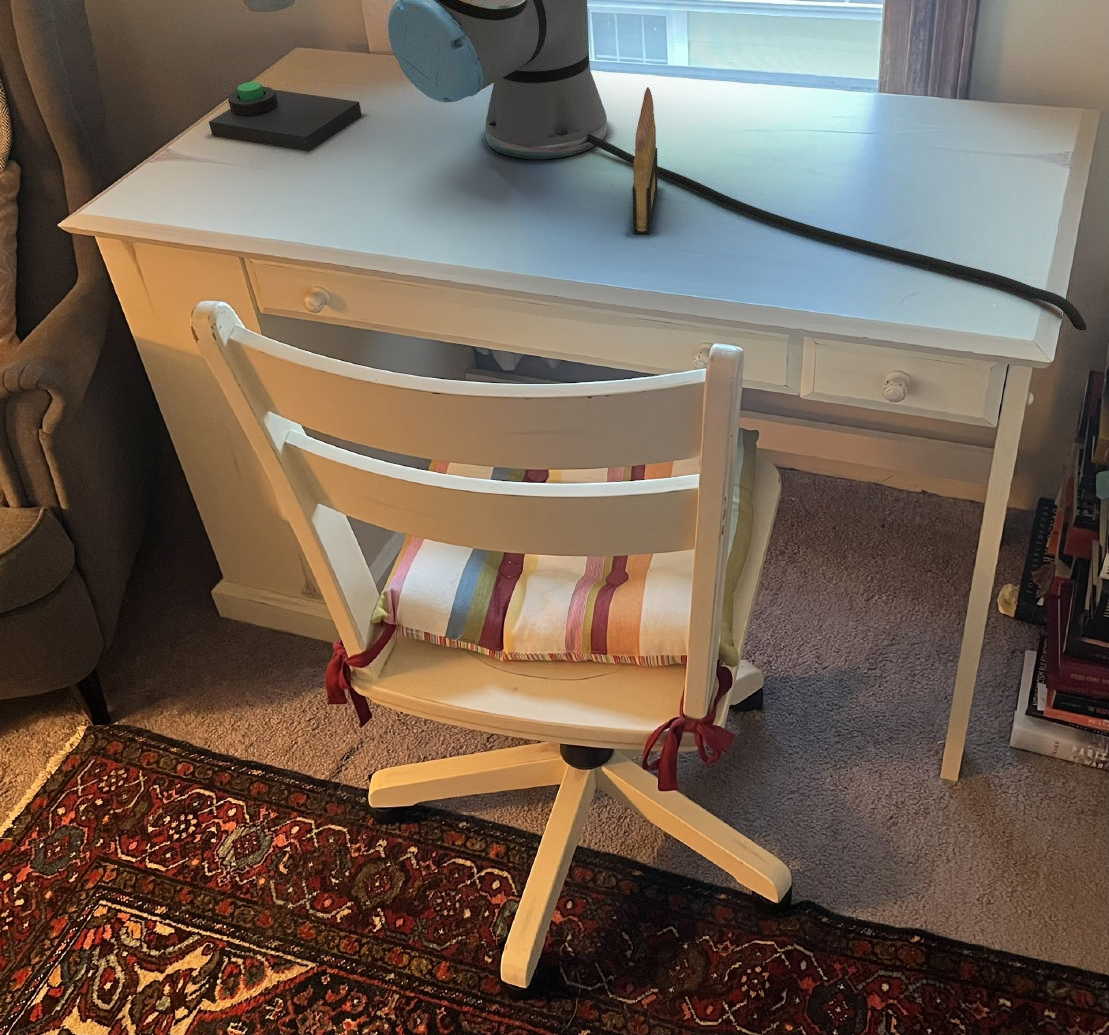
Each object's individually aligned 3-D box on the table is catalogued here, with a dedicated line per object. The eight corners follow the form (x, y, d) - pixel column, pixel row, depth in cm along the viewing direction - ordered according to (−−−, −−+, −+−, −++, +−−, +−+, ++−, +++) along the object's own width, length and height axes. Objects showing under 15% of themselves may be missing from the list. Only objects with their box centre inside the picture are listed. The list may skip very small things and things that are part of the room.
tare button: (269, 94, 146) (266, 83, 145) (254, 103, 144) (251, 92, 143) (250, 92, 147) (247, 80, 146) (235, 100, 145) (232, 89, 144)
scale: (362, 115, 146) (357, 89, 144) (309, 151, 139) (303, 124, 136) (267, 101, 152) (261, 76, 150) (211, 135, 145) (204, 109, 142)
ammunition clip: (650, 234, 116) (649, 124, 108) (632, 234, 117) (630, 124, 109) (657, 189, 124) (657, 83, 116) (641, 189, 124) (639, 84, 116)
